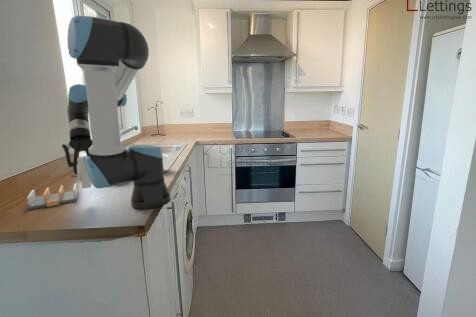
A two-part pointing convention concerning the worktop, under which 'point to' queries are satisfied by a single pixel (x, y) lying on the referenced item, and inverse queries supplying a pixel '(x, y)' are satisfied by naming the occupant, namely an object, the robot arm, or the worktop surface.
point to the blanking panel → (83, 173)
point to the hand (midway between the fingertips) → (85, 179)
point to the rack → (52, 198)
